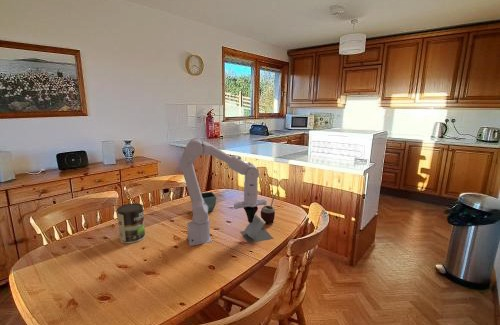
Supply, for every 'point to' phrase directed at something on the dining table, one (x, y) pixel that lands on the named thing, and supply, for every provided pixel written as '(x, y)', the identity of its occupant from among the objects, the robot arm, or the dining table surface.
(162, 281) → the dining table surface
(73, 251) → the dining table surface
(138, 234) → the coffee can
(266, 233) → the mat
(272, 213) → the mate gourd
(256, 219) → the slab
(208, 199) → the flower pot
